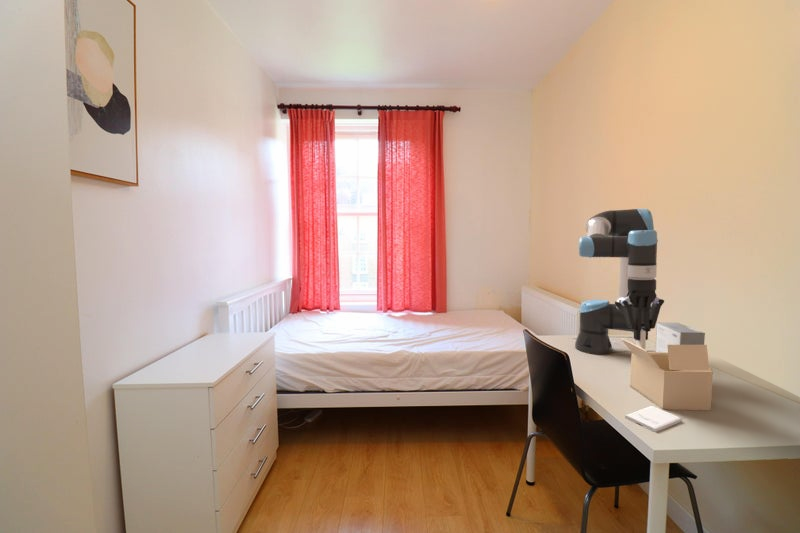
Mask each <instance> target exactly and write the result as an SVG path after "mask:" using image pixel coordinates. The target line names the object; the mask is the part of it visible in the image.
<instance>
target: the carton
mask: <svg viewBox="0 0 800 533" xmlns="http://www.w3.org/2000/svg"><path fill="white" fill-rule="evenodd" d="M648 353H649V354H650V355H651V357H652V358H653V359H654V361H655V362H656V363H657V364H658V366H659V368H658V367H656V366H655V365H653V364H651V363H649V362H647V361H645V360H644V359H642V358H640V357H638V356H636V355H634V354H633V353H631V358H630V360H631V361H630V382H629V383H630V384H629V386H630V388H632V389H633V390H634V391H636V392H637V393H639V394H640V395H641V396H643V397H644V398H646V399H647V400H649V401H650V402H652V404H654V405H655V406H657V408H659V409H661V410H670V411H671V410H672V411H673V410H674V411H675V410H676V411H677V410H678V411H679V410H681V411H683V410H684V411H685V410H686V411H687V410H688V411H690V410H691V411H693V410H694V411H711V408H712V394H713V378H714V376H713V375H714V374H713V373H714V372H713V371H712V370H713V369H712V368H710V367H709V369H710V370H670V367H669V357H668V352H656V351H653V352H651V351H650V352H649V351H648Z"/></svg>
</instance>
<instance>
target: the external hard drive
mask: <svg viewBox="0 0 800 533" xmlns="http://www.w3.org/2000/svg"><path fill="white" fill-rule="evenodd" d="M624 418H625V419H626V420H628V421H631V422H632V423H635V424H637V425H638V426H639V425H640V426H641V427H643V428H646V429H648V430H649V431H652V432H654V433H657V432H660V431H662V430H664V429H667V428H669V427H672V426H674V425H676V424H680V423H682V420H683V419H682V418H681V417H680V416H677V415H675V414H673V413H670V412H667V411H665V410H664V409H661V408H659V407H656V406H653V405H650V406H648V407H647V406H646V407H645V408H642V409H638V410H636V411H634V412H631V413H628V414H625V415H624Z"/></svg>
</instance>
